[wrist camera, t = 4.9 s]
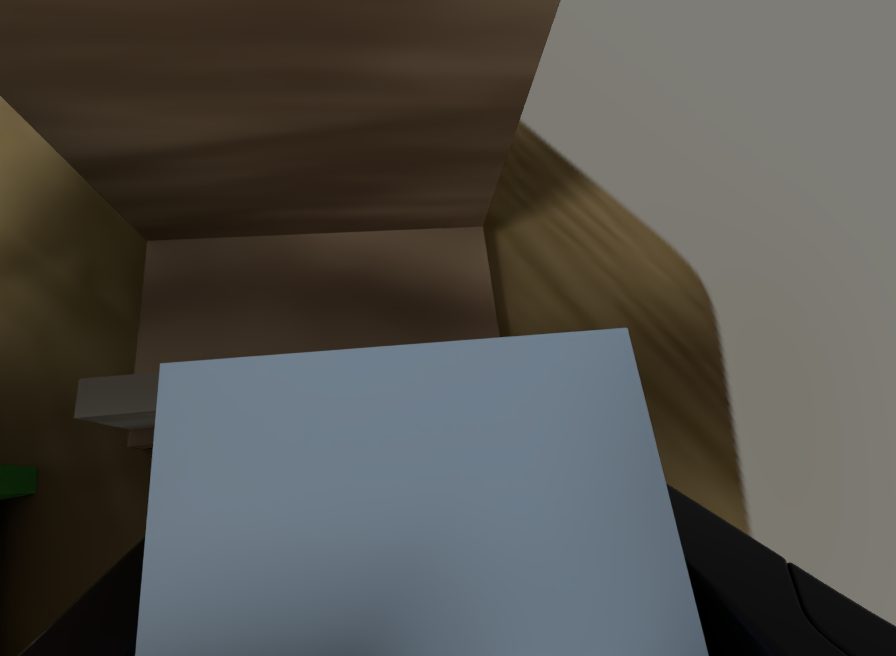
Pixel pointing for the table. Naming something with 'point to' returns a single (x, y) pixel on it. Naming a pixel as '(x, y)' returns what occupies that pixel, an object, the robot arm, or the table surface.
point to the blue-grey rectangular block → (413, 505)
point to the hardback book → (17, 481)
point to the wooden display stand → (282, 165)
